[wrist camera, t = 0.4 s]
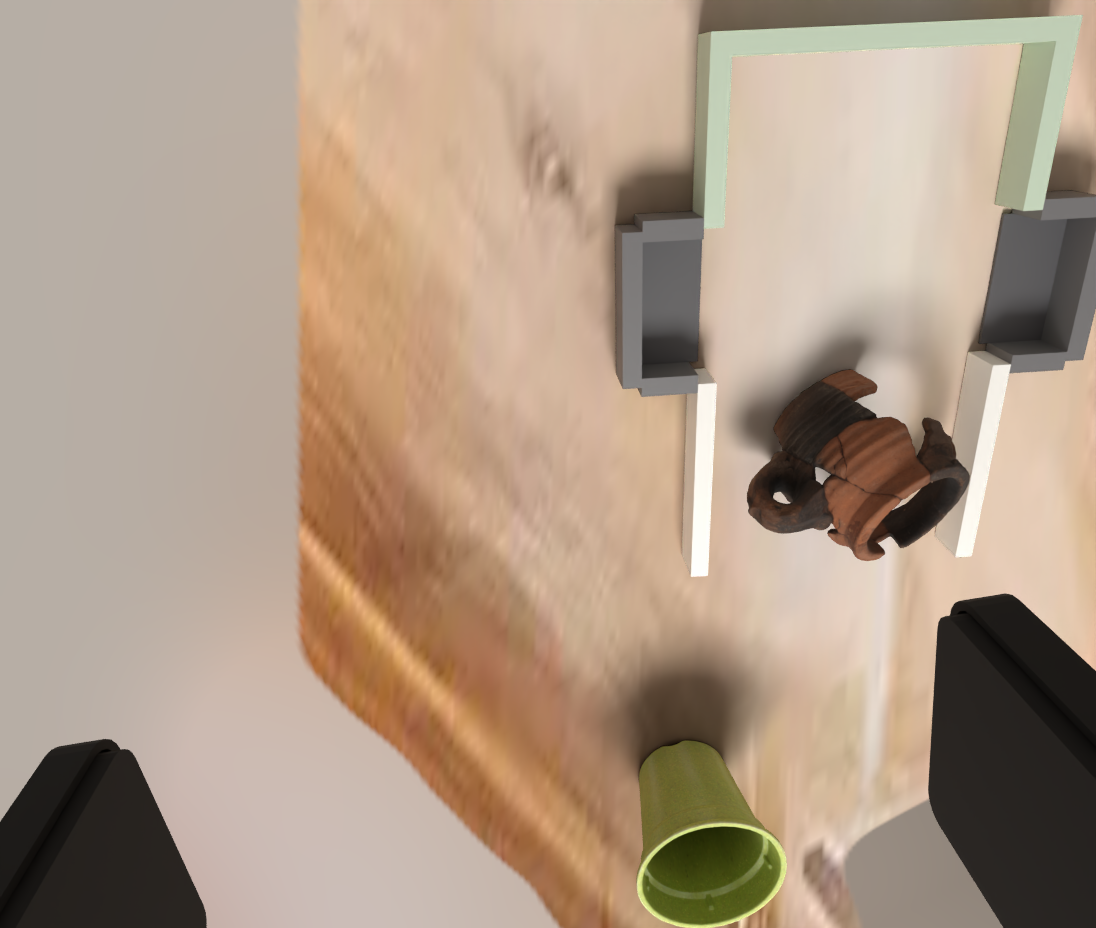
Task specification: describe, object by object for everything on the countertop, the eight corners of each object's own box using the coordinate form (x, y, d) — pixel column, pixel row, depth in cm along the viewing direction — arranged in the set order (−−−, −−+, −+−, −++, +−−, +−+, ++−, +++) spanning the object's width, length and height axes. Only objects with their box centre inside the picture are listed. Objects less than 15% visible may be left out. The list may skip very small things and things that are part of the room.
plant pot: (772, 744, 58) (816, 847, 50) (703, 833, 61) (735, 944, 53) (657, 703, 55) (686, 805, 48) (593, 798, 59) (609, 908, 51)
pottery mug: (895, 333, 46) (1006, 428, 41) (867, 439, 53) (959, 531, 48) (710, 419, 44) (803, 530, 39) (708, 517, 51) (786, 621, 46)
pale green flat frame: (613, 38, 38) (621, 35, 36) (1128, 15, 39) (1168, 11, 37) (617, 559, 50) (623, 581, 48) (1012, 530, 51) (1036, 551, 49)
